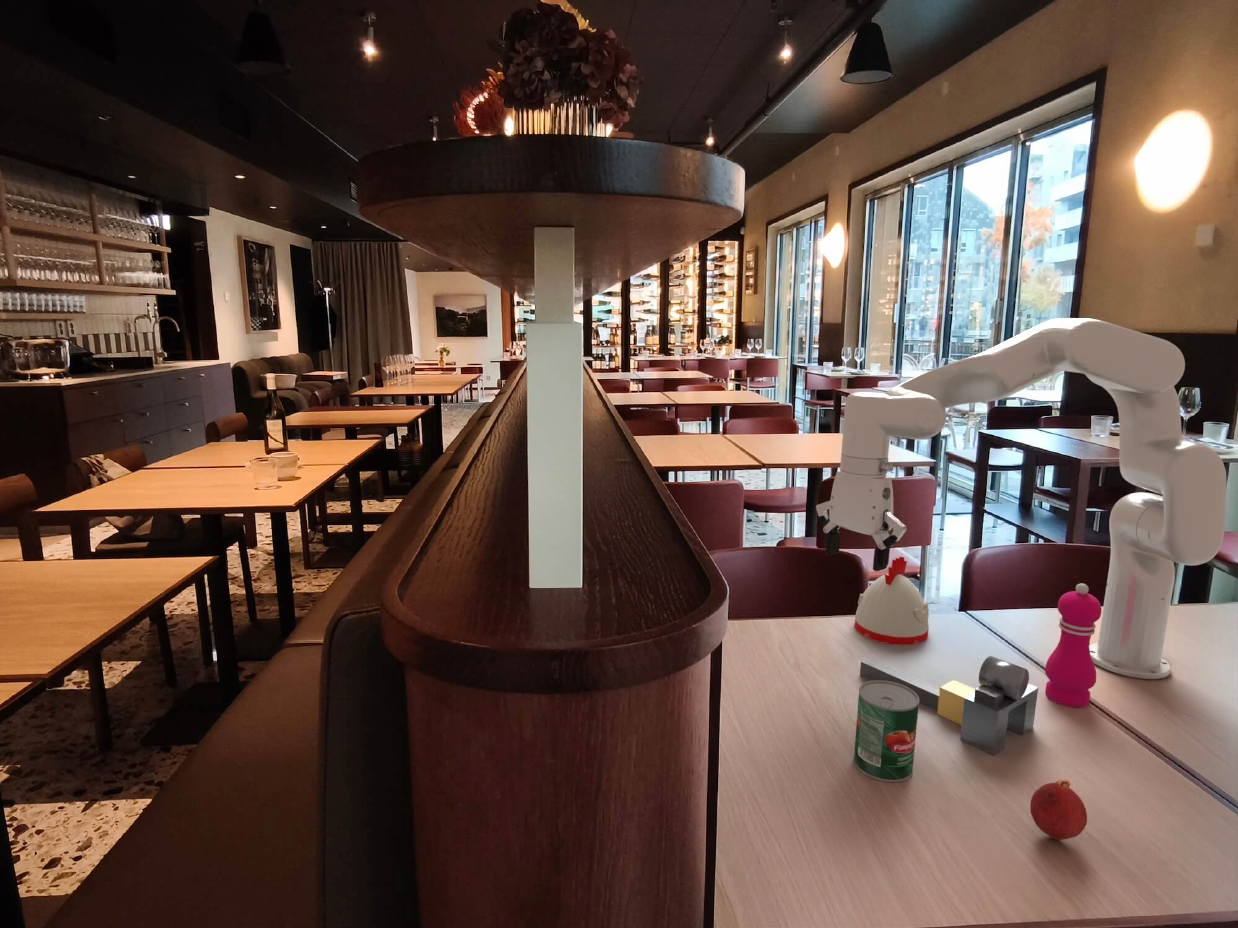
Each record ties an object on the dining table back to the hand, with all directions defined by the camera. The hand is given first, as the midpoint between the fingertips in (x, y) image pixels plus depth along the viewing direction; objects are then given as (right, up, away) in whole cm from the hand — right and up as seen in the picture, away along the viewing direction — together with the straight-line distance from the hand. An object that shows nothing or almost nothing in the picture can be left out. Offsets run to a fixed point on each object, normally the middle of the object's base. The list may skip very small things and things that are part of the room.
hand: (855, 561), depth 127 cm
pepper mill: (+33, -22, -6) cm, 40 cm away
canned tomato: (-4, -26, -24) cm, 36 cm away
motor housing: (+16, -24, -17) cm, 33 cm away
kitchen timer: (+14, -17, +20) cm, 29 cm away
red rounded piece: (+12, -29, -39) cm, 49 cm away
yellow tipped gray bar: (+8, -22, -6) cm, 24 cm away
